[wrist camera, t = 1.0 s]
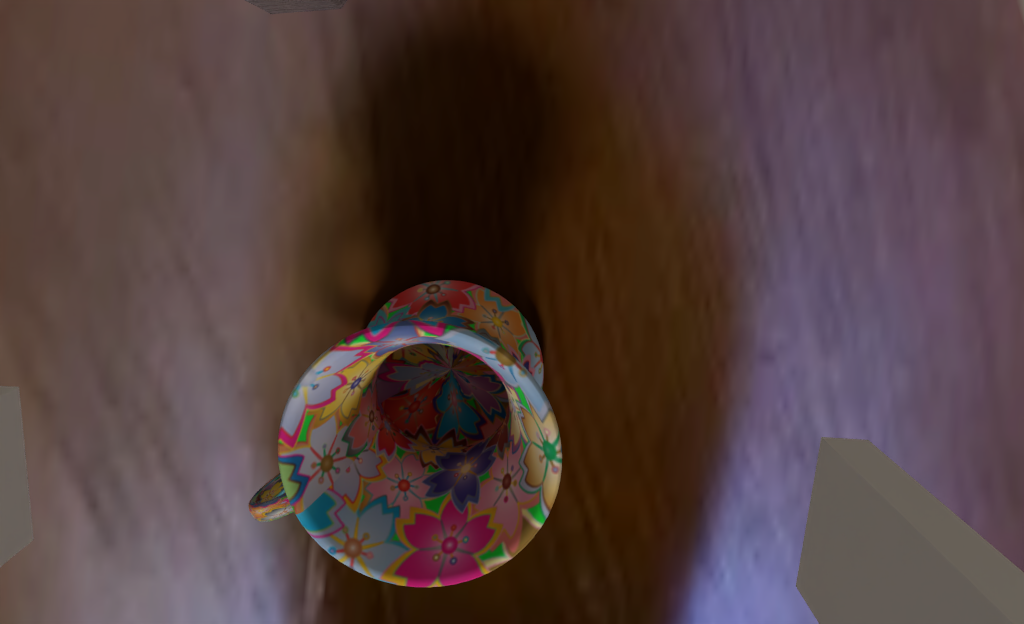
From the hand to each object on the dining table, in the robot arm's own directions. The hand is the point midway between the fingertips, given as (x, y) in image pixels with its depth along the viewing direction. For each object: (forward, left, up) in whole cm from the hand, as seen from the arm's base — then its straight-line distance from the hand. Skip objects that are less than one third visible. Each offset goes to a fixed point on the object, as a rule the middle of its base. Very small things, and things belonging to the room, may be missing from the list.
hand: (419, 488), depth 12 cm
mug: (+1, -6, -22) cm, 22 cm away
